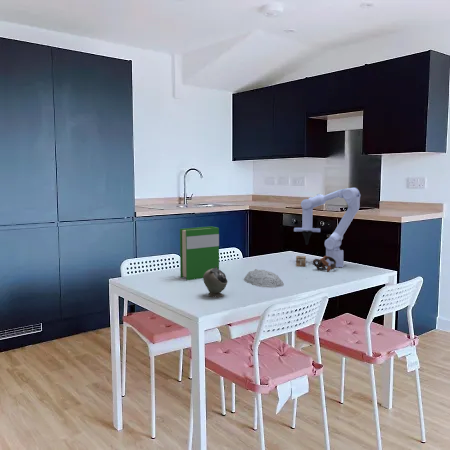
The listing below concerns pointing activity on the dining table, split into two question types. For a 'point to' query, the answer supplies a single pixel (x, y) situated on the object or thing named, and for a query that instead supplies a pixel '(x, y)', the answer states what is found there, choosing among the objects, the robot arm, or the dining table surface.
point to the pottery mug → (324, 263)
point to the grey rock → (263, 279)
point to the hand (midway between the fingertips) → (306, 244)
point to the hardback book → (198, 251)
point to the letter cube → (300, 261)
